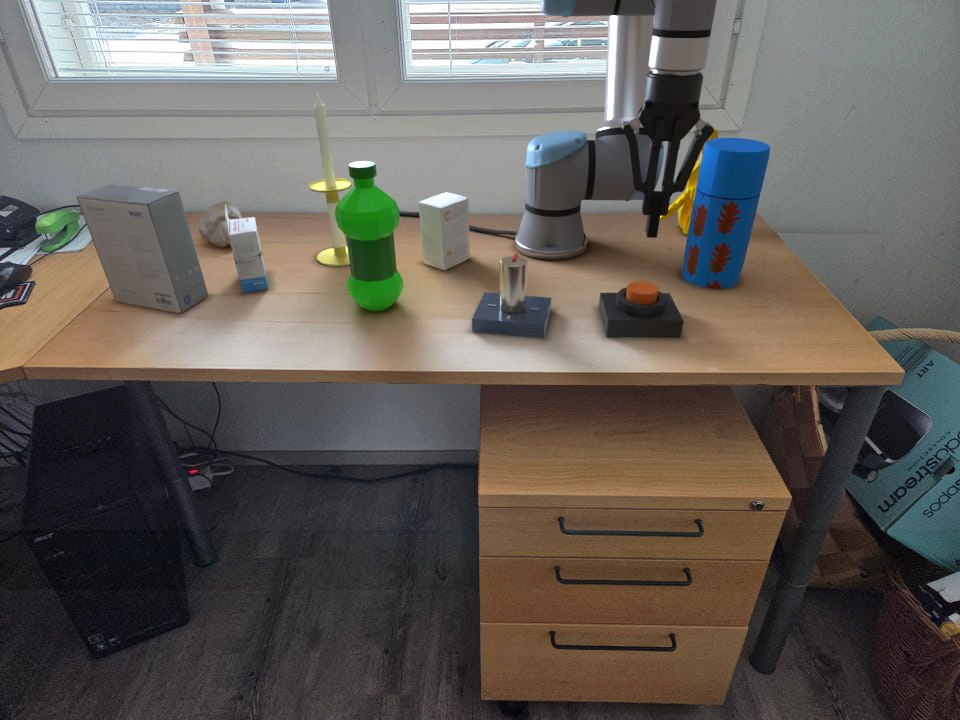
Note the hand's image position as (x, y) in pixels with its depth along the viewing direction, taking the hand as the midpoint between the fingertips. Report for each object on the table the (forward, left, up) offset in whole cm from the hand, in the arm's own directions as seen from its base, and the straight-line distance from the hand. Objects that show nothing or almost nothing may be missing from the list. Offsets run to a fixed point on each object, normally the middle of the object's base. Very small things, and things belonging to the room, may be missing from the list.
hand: (651, 234), depth 97 cm
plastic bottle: (-33, -32, -16) cm, 49 cm away
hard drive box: (-60, -62, -16) cm, 88 cm away
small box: (-41, -11, -16) cm, 46 cm away
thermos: (-2, +24, -16) cm, 29 cm away
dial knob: (-13, -17, -13) cm, 25 cm away
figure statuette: (-19, +43, -16) cm, 50 cm away
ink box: (-56, -46, -16) cm, 74 cm away
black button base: (+1, -1, -15) cm, 15 cm away
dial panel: (-13, -17, -15) cm, 27 cm away
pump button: (+1, -1, -11) cm, 11 cm away
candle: (-57, -27, -16) cm, 65 cm away
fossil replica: (-81, -43, -16) cm, 93 cm away
